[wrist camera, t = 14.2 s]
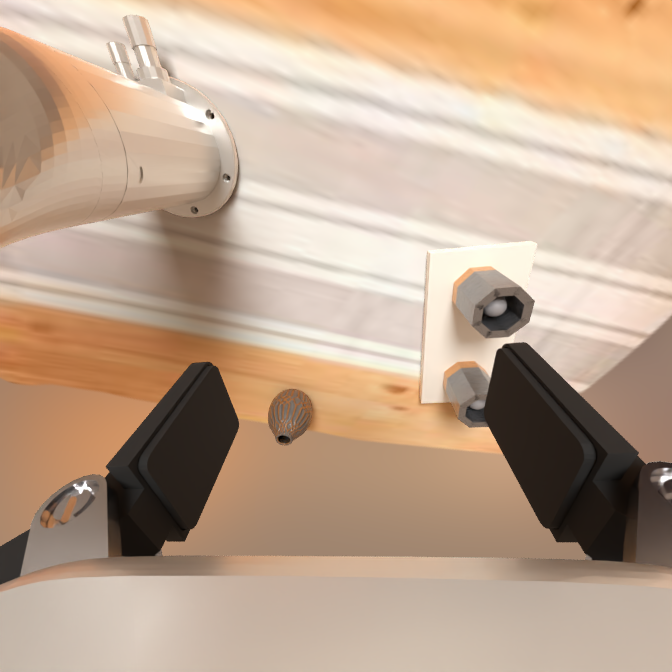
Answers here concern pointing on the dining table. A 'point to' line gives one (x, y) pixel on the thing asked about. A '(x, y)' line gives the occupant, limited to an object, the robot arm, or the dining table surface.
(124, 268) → the dining table surface
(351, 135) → the dining table surface
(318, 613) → the robot arm
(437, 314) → the pin board
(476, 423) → the seated sleeve
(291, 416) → the vase
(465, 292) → the loose sleeve
